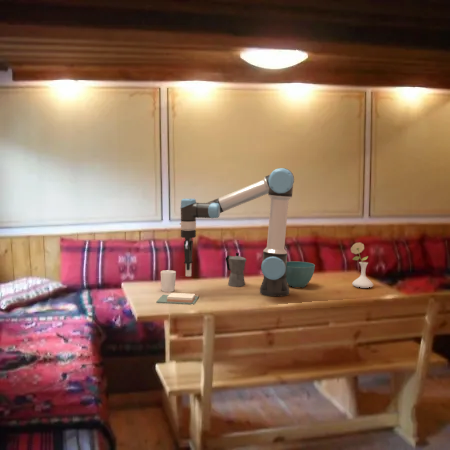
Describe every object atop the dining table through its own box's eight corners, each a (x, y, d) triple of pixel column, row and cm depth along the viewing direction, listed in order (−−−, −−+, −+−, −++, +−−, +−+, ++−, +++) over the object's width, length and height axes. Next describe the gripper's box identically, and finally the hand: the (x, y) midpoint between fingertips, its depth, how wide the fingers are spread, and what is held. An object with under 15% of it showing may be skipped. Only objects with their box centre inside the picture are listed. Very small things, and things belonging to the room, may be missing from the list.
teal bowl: (320, 288, 325) (321, 266, 323) (290, 290, 318) (291, 267, 317) (303, 282, 341) (304, 260, 340) (275, 283, 335) (275, 262, 333)
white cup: (161, 292, 306) (161, 273, 305) (159, 289, 314) (159, 270, 313) (176, 292, 308) (176, 272, 307) (174, 288, 316) (175, 270, 315)
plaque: (195, 293, 292) (192, 298, 283) (195, 298, 292) (192, 302, 283) (170, 292, 293) (167, 296, 284) (170, 297, 293) (167, 301, 284)
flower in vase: (371, 285, 336) (373, 241, 333) (374, 289, 325) (376, 244, 322) (347, 284, 337) (349, 240, 335) (350, 288, 326) (352, 243, 323)
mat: (198, 297, 297) (198, 296, 297) (193, 304, 282) (193, 303, 282) (162, 295, 299) (162, 294, 299) (156, 302, 284) (156, 301, 284)
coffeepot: (251, 286, 327) (252, 253, 325) (239, 288, 320) (239, 255, 319) (231, 281, 338) (232, 250, 336) (219, 283, 332) (220, 251, 330)
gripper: (183, 228, 306) (183, 273, 309) (178, 230, 293) (178, 278, 296) (197, 228, 306) (197, 273, 308) (193, 231, 293) (193, 278, 295)
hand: (188, 276), depth 302 cm, fingers closed
